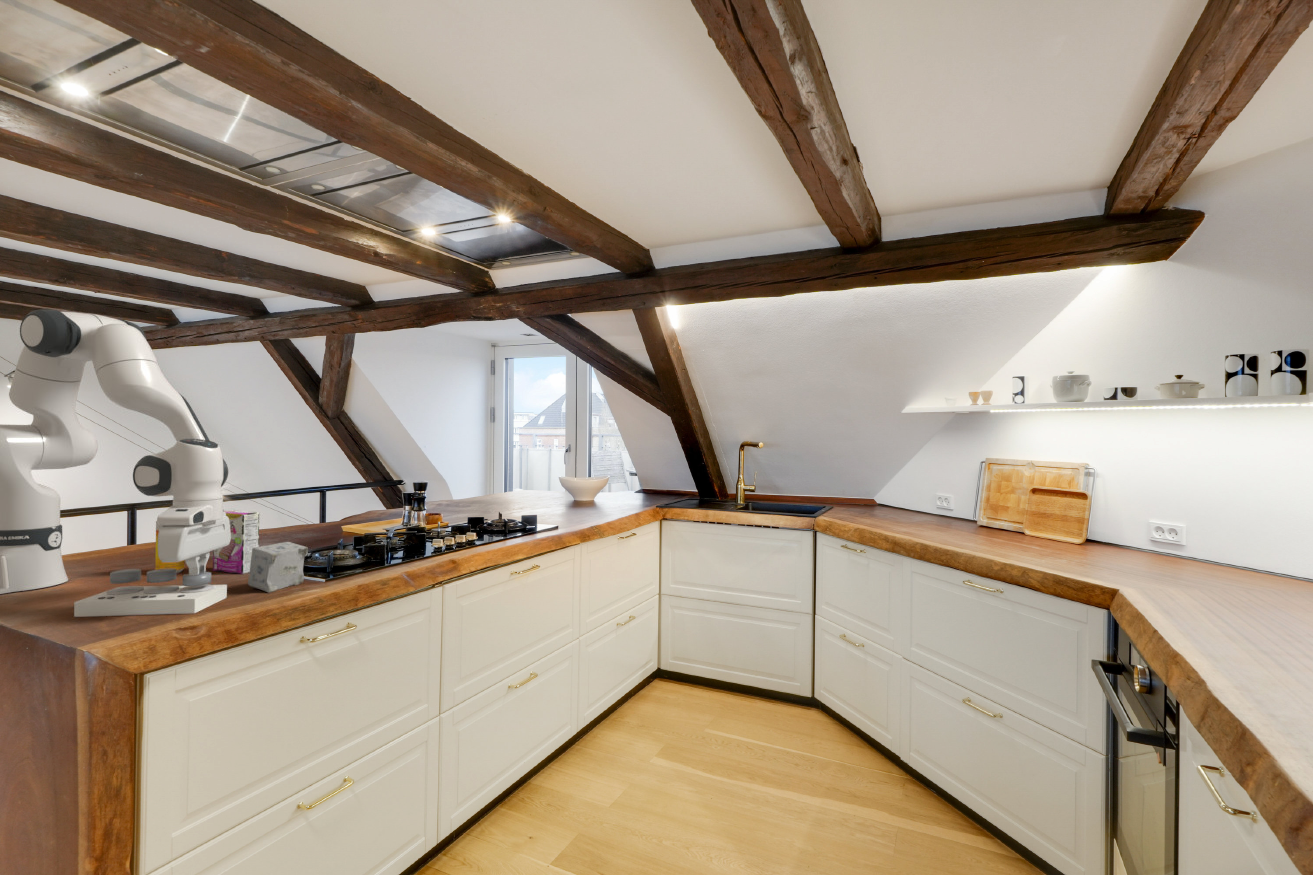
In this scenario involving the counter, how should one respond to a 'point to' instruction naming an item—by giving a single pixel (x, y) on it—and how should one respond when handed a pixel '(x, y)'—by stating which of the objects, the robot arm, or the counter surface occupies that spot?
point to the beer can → (163, 565)
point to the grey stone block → (277, 566)
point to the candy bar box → (238, 543)
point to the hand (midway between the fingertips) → (197, 574)
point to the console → (150, 600)
